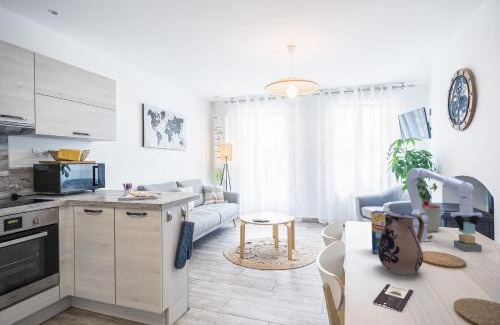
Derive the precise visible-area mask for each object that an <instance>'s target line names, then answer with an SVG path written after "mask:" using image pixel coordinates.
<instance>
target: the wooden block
mask: <svg viewBox="0 0 500 325" xmlns="http://www.w3.org/2000/svg"><path fill="white" fill-rule="evenodd" d="M458 240H459V242H460V243H462V244H467V245H475V243H476V236H475V235H472V234H464V233H458Z"/></svg>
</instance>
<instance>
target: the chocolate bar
mask: <svg viewBox="0 0 500 325" xmlns="http://www.w3.org/2000/svg"><path fill="white" fill-rule="evenodd" d="M384 289H385V290H384ZM412 293H413V294H414V289H409V288H406V287H402V286H397V285H395V284H394V285H393V284H389V283H387V284H386V285H385V286H384V287H383V289H381V291H380V292H379V293H378V295H377V296H376V297H375V299H374V300H373V301H372V303H373V302H374V303H377V304H381V305H385V306H387V307H390V308H393V309H396V310H400V311H402V310H403V308H404V307H406V306H407V304H408V302H409V301H408V300H410V299H409V298H411V297H410V296H412V295H413V294H412ZM407 301H408V302H407ZM384 303H386V304H384ZM406 303H407V304H406ZM405 305H406V306H405ZM404 309H405V308H404ZM396 310H395V311H396ZM403 311H404V310H403ZM403 311H402V312H403Z"/></svg>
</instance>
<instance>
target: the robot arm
mask: <svg viewBox="0 0 500 325" xmlns="http://www.w3.org/2000/svg"><path fill="white" fill-rule="evenodd" d="M423 178H431V179H433V180H436V181H438V182H442V184H443V185H444V186H445V187H447V188H450V189H452V190H455V191H458V193H459V196H458V197H459V200H458V201H459V211H457V212H450V216H451V217H452V218H454V220H455V221H456V223H457V226H458V230H459V229H460V230H463V222H464V221H465V218H466V217H468V220H469V223H472V224H475V227H476V226H477V224H478V222H479V220H480V218H482V217H483V213H482V212H474V204H473V203H474V198H473V197H474V196H473V191H474V190H475V188H474V185H473V184H472V183H470V182H469V181H467V182H466V181H465V180H462V179H461V180H460V179H459V178H455V176H452V175H451V176H450V175H448V176H443V175H441V174H439V173H437V172H434V171H433V170H430V169H427V168H423V167H417V168H416V167H413V168H410V170H409V171H408V172H407V177H406V179H405V183H406V184H405V185H406V188H407V192H408V196H409V200H410V206H412V207H411V208H412V209H413V210H412V209H411V210H412V212H411V214H417V215H420V216H422V219H423V221H424V231H423V235H422V239H421V242H431V240H429V239H428V232H427V222H428V221H429V218H428V216H427V215H426V213H425V211H424V210H423V208H422V204H421V203H422V201H421V196H420V191H419V190H418V189H419V188H418V186H417V184H418V182H419V181H420V180H422V179H423ZM463 217H465V218H463ZM413 226H414V229H415V232H416V235H417V234H418V230H419V221H418V219H417V218H415V219H414V220H413Z"/></svg>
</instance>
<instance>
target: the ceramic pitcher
mask: <svg viewBox="0 0 500 325" xmlns="http://www.w3.org/2000/svg"><path fill="white" fill-rule="evenodd" d="M385 215H386V216H385V221H386V223H385V226H384V228H383V230H382V233H381V237H380V240H379V245H378V259H379V261H380V263H381V265H382V266H383V267H384V268H385V269H386V270H387V271H389V272H391V273H392V274H396V275H399V276H410V275H411V274H412V275H413V274H414V273H417V271H419V270H420V269H421V267H422V264H423V262H424V253H423V249H422V246H421V242H422V241H421V239H422V235H423V231H424V221H423V219H422V216H420V215H417V214H412V213H402V212H397V213H386V214H385ZM415 218H417V219H418V221H419V230H418V234H417V235H416V232H415V229H414V226H413V220H414V219H415Z"/></svg>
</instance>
